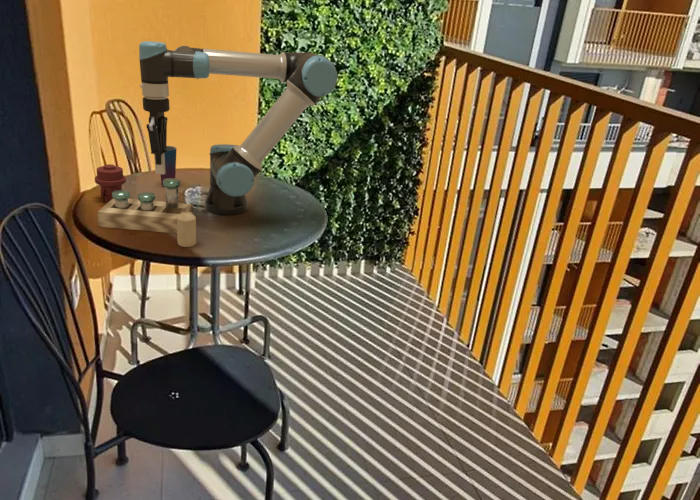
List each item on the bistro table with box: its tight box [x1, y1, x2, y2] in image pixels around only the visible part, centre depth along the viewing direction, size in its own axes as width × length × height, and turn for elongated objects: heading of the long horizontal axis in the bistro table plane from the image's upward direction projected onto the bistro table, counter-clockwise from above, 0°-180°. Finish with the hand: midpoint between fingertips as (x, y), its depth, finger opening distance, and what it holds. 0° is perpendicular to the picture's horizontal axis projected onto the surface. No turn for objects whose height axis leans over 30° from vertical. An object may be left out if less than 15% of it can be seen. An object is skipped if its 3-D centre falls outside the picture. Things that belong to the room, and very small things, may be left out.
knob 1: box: [112, 189, 131, 209], centre depth 174 cm, size 5×5×8 cm
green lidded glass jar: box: [137, 191, 156, 212], centre depth 174 cm, size 5×5×8 cm
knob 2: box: [162, 177, 181, 208], centre depth 173 cm, size 5×5×8 cm
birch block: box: [97, 198, 194, 234], centre depth 175 cm, size 26×14×5 cm, turn 92°
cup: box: [160, 145, 177, 188], centre depth 209 cm, size 7×7×15 cm
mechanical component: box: [94, 164, 127, 203], centre depth 189 cm, size 12×10×10 cm
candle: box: [176, 212, 197, 248], centre depth 163 cm, size 6×6×10 cm
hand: (160, 173), depth 170 cm, fingers closed
